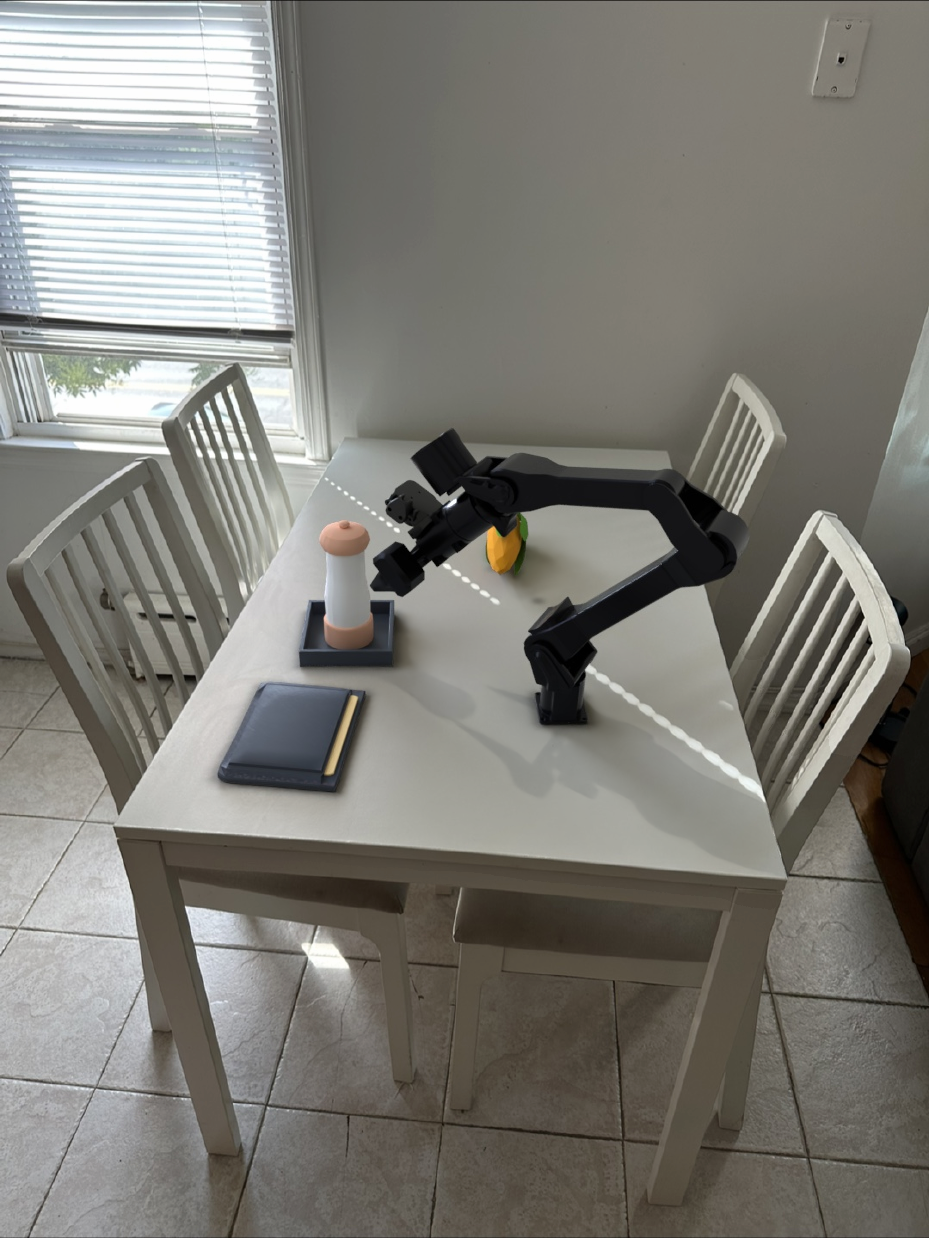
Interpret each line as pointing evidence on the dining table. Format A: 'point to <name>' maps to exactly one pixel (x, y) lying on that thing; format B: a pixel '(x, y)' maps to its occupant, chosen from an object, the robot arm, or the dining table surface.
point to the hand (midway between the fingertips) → (390, 573)
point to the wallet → (293, 737)
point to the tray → (322, 654)
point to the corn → (507, 547)
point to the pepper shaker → (346, 586)
